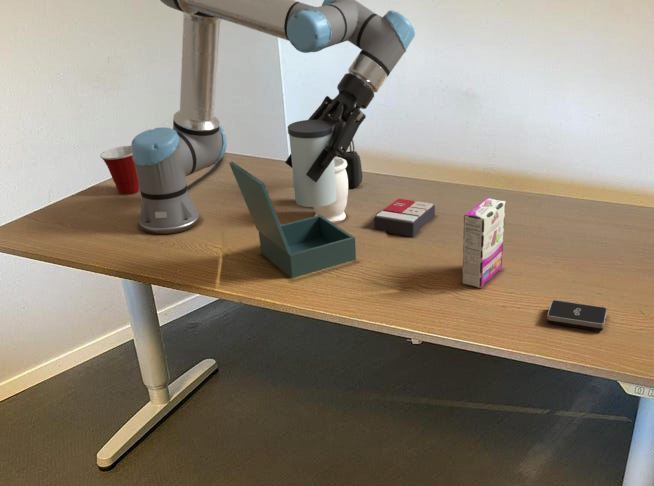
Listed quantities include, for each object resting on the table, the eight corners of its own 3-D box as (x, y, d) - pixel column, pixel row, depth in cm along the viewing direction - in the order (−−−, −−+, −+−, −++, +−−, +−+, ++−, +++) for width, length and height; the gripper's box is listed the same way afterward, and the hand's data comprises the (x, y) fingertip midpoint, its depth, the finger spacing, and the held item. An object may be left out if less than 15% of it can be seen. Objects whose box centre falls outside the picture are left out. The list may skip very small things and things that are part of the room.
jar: (344, 227, 187) (341, 170, 178) (305, 224, 188) (301, 168, 180) (353, 211, 195) (351, 156, 187) (317, 209, 197) (313, 154, 189)
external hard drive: (551, 308, 149) (552, 299, 148) (606, 316, 146) (608, 307, 145) (545, 324, 144) (547, 315, 143) (603, 333, 141) (604, 324, 140)
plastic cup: (113, 185, 216) (103, 145, 209) (150, 183, 217) (141, 143, 210) (105, 198, 207) (95, 157, 200) (144, 196, 208) (135, 155, 201)
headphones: (346, 180, 216) (343, 112, 204) (365, 183, 213) (362, 114, 202) (305, 205, 199) (299, 132, 188) (325, 209, 197) (320, 135, 186)
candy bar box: (482, 264, 167) (486, 196, 158) (502, 269, 165) (507, 200, 156) (460, 284, 159) (463, 213, 150) (480, 289, 157) (485, 218, 148)
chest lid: (232, 161, 158) (228, 162, 158) (264, 182, 147) (260, 184, 147) (259, 228, 170) (256, 229, 170) (291, 252, 158) (288, 254, 158)
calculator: (435, 202, 190) (413, 220, 178) (435, 218, 192) (413, 236, 180) (397, 196, 194) (373, 213, 182) (397, 212, 196) (373, 230, 184)
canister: (293, 193, 162) (286, 121, 153) (335, 190, 163) (331, 118, 154) (295, 209, 154) (288, 133, 145) (339, 205, 155) (334, 130, 146)
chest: (322, 238, 181) (320, 214, 177) (356, 262, 169) (355, 237, 166) (261, 255, 173) (258, 230, 170) (292, 281, 162) (290, 255, 158)
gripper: (400, 104, 147) (337, 196, 148) (346, 85, 162) (289, 168, 164) (378, 81, 141) (312, 176, 143) (324, 63, 157) (265, 149, 159)
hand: (300, 172), depth 153 cm, fingers closed on canister, 9 cm apart
